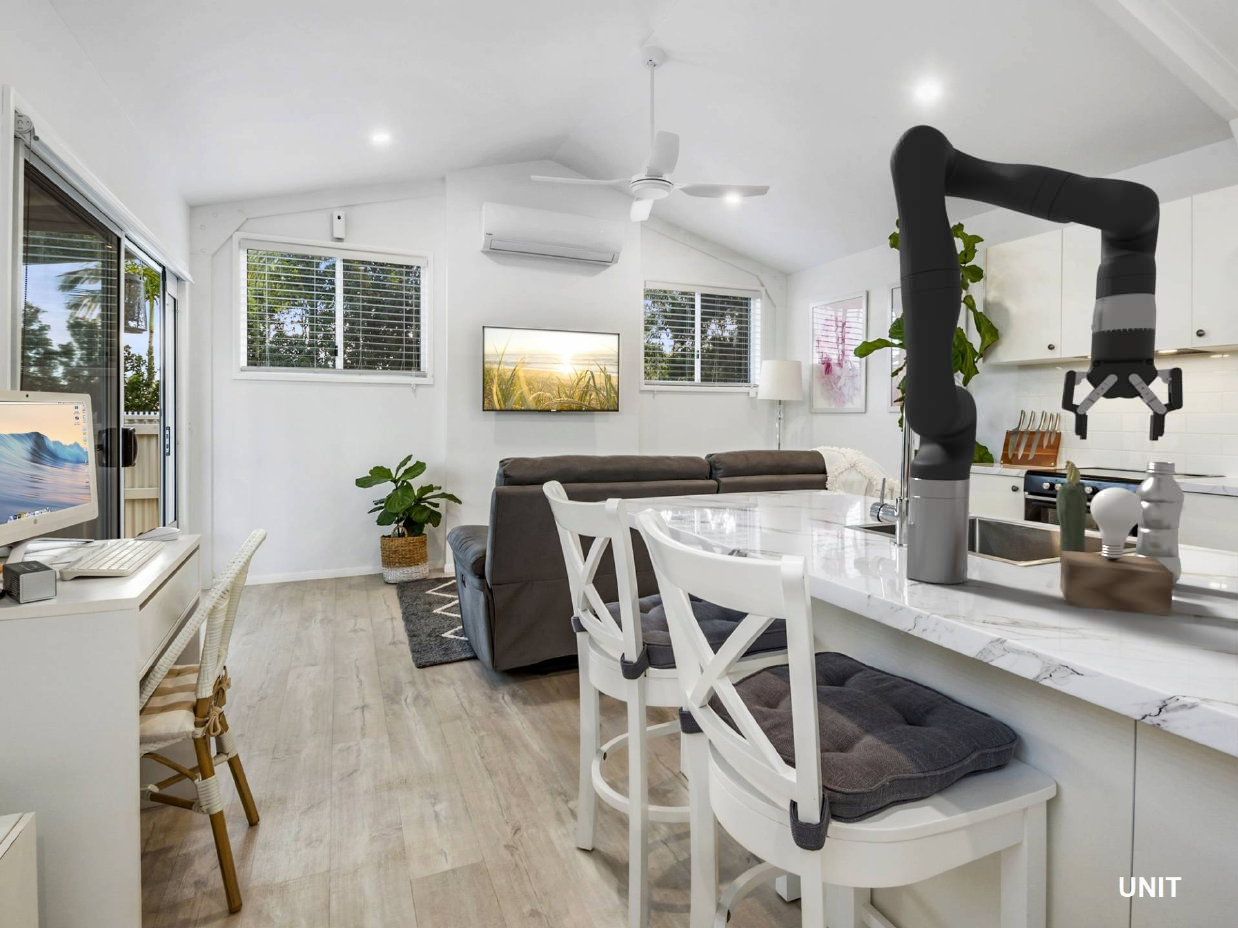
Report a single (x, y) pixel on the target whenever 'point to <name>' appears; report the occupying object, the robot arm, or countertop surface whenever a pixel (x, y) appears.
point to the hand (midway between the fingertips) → (1117, 440)
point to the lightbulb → (1115, 518)
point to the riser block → (1116, 583)
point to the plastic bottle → (1160, 516)
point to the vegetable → (1072, 511)
